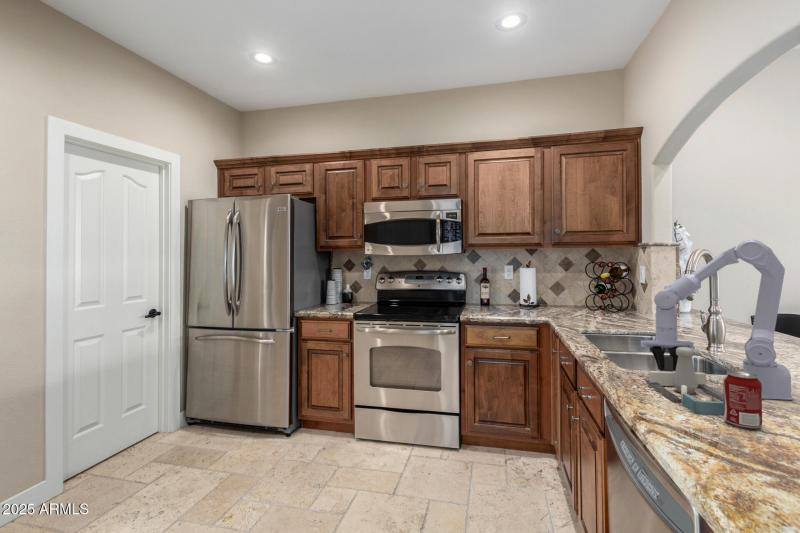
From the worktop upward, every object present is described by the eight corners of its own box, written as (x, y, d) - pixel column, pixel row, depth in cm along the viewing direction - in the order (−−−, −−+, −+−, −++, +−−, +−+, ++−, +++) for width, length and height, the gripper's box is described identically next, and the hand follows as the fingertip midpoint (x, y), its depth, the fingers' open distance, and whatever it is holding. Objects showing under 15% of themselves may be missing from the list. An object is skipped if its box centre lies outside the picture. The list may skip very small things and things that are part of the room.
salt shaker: (702, 395, 110) (701, 350, 110) (679, 394, 111) (678, 349, 111) (691, 389, 116) (690, 345, 116) (669, 388, 117) (669, 345, 117)
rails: (700, 385, 119) (700, 382, 119) (737, 405, 102) (737, 401, 102) (646, 383, 122) (646, 380, 122) (673, 402, 105) (673, 399, 105)
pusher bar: (690, 378, 124) (690, 355, 124) (706, 387, 116) (705, 362, 116) (639, 377, 127) (639, 354, 127) (651, 385, 119) (650, 360, 119)
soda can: (765, 433, 86) (765, 379, 86) (726, 426, 90) (725, 375, 90) (758, 422, 92) (757, 371, 92) (721, 416, 95) (720, 368, 95)
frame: (732, 405, 102) (732, 387, 102) (751, 416, 95) (750, 396, 95) (680, 403, 105) (680, 385, 104) (695, 413, 98) (695, 394, 98)
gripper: (685, 326, 127) (685, 367, 127) (636, 325, 130) (637, 366, 130) (697, 329, 120) (697, 373, 120) (645, 329, 123) (646, 371, 123)
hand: (666, 370), depth 124 cm, fingers open, 3 cm apart
